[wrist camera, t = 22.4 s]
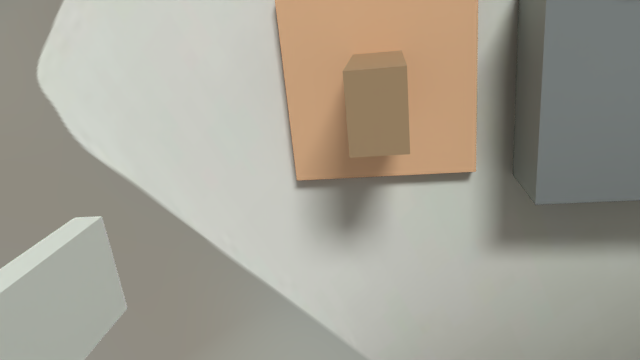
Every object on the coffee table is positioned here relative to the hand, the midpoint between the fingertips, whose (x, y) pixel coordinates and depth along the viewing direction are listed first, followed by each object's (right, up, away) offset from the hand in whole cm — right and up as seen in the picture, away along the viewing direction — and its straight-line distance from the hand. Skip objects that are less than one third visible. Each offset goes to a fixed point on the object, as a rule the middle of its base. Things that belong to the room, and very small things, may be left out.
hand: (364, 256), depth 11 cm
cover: (+3, +9, +25) cm, 27 cm away
